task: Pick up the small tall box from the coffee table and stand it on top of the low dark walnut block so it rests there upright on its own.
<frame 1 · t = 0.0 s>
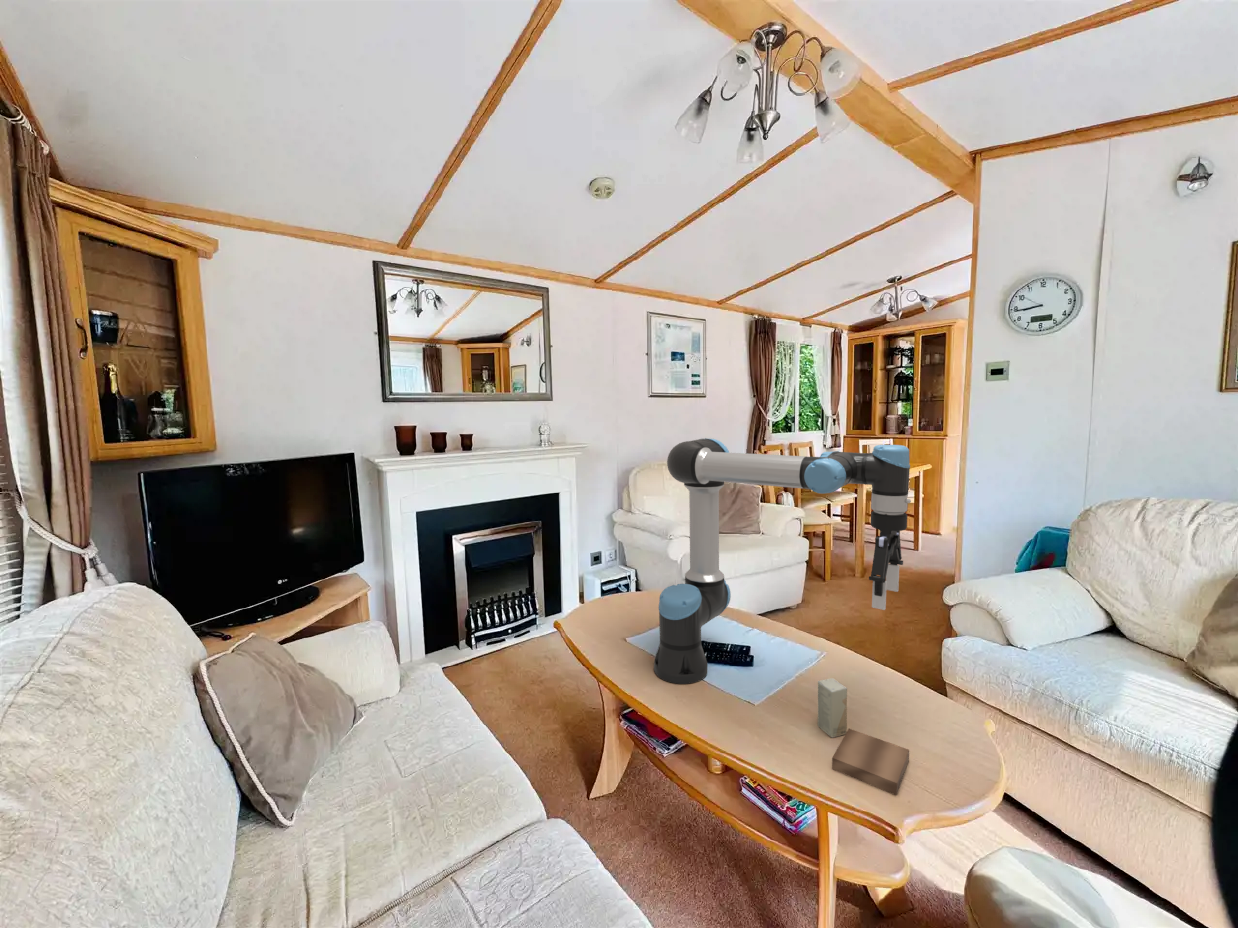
hand: (885, 599, 123), 28 cm above the table, fingers open, 13 cm apart
walnut block: (870, 766, 108), on the table
box: (831, 730, 119), on the table
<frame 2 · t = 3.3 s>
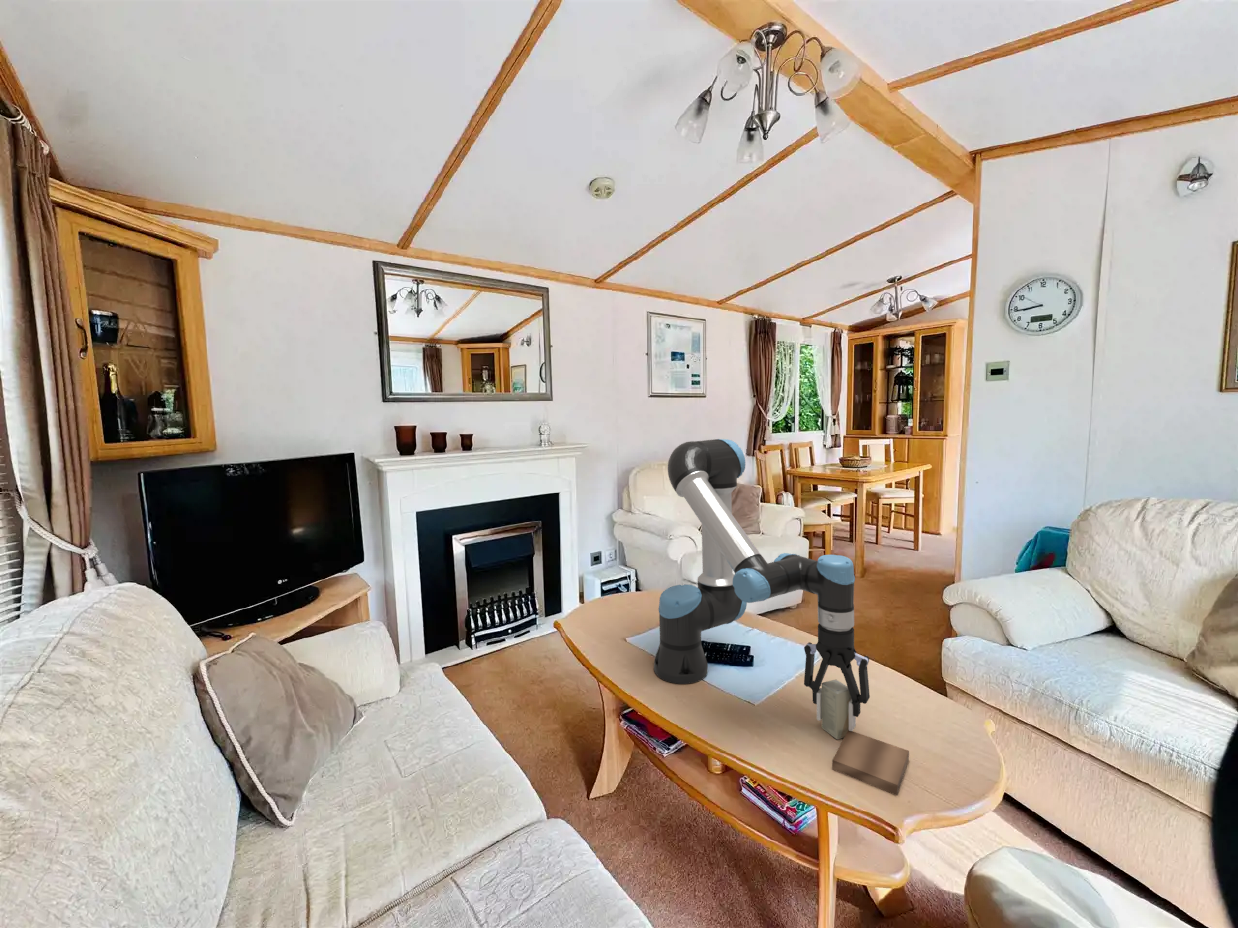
hand: (835, 722, 118), 2 cm above the table, fingers open, 6 cm apart
walnut block: (870, 768, 108), on the table, touching gripper
box: (835, 731, 119), on the table, touching gripper
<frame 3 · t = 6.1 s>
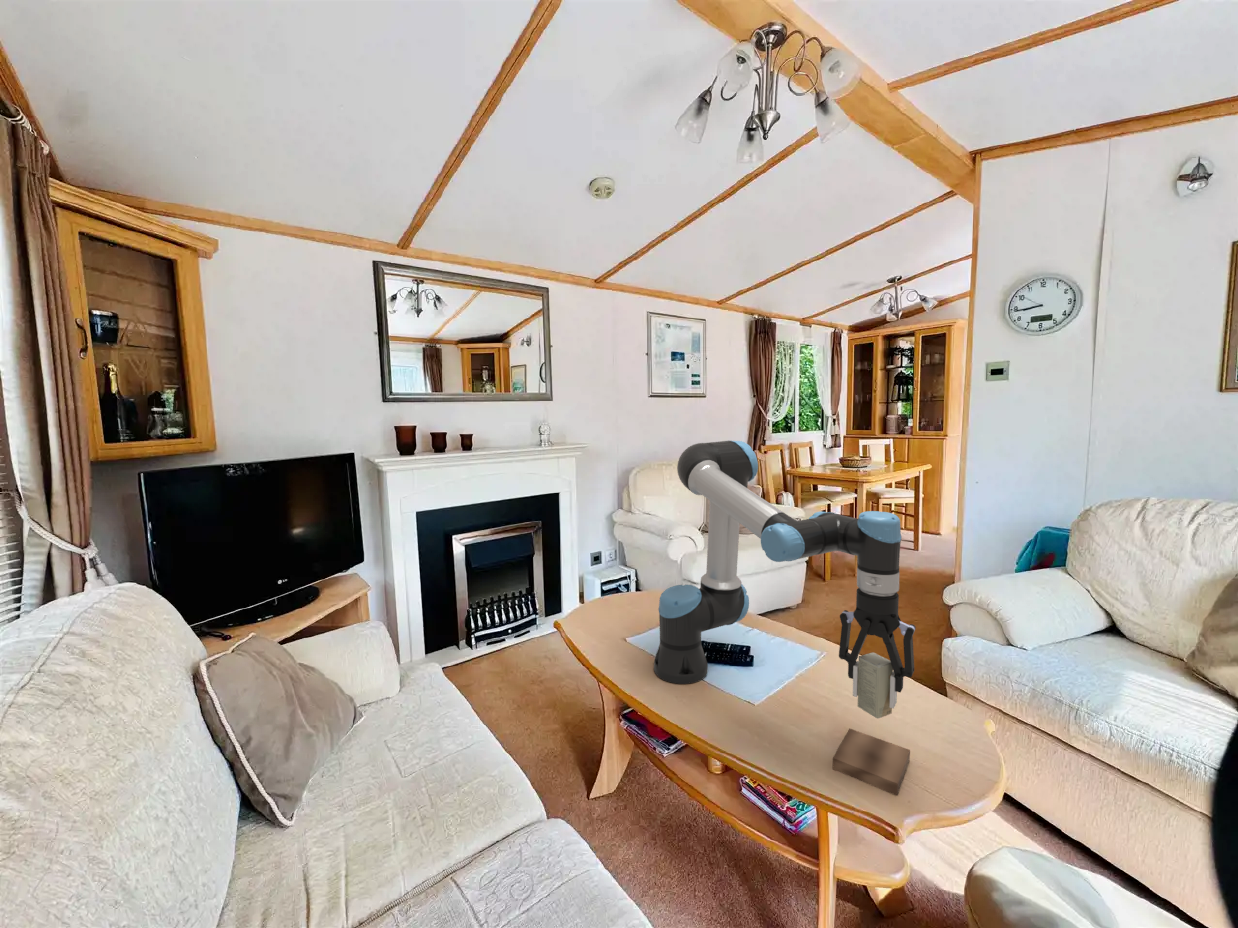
hand: (874, 698, 106), 15 cm above the table, fingers closed on box, 6 cm apart
walnut block: (871, 766, 108), on the table
box: (873, 710, 106), point 12 cm above the table, touching gripper
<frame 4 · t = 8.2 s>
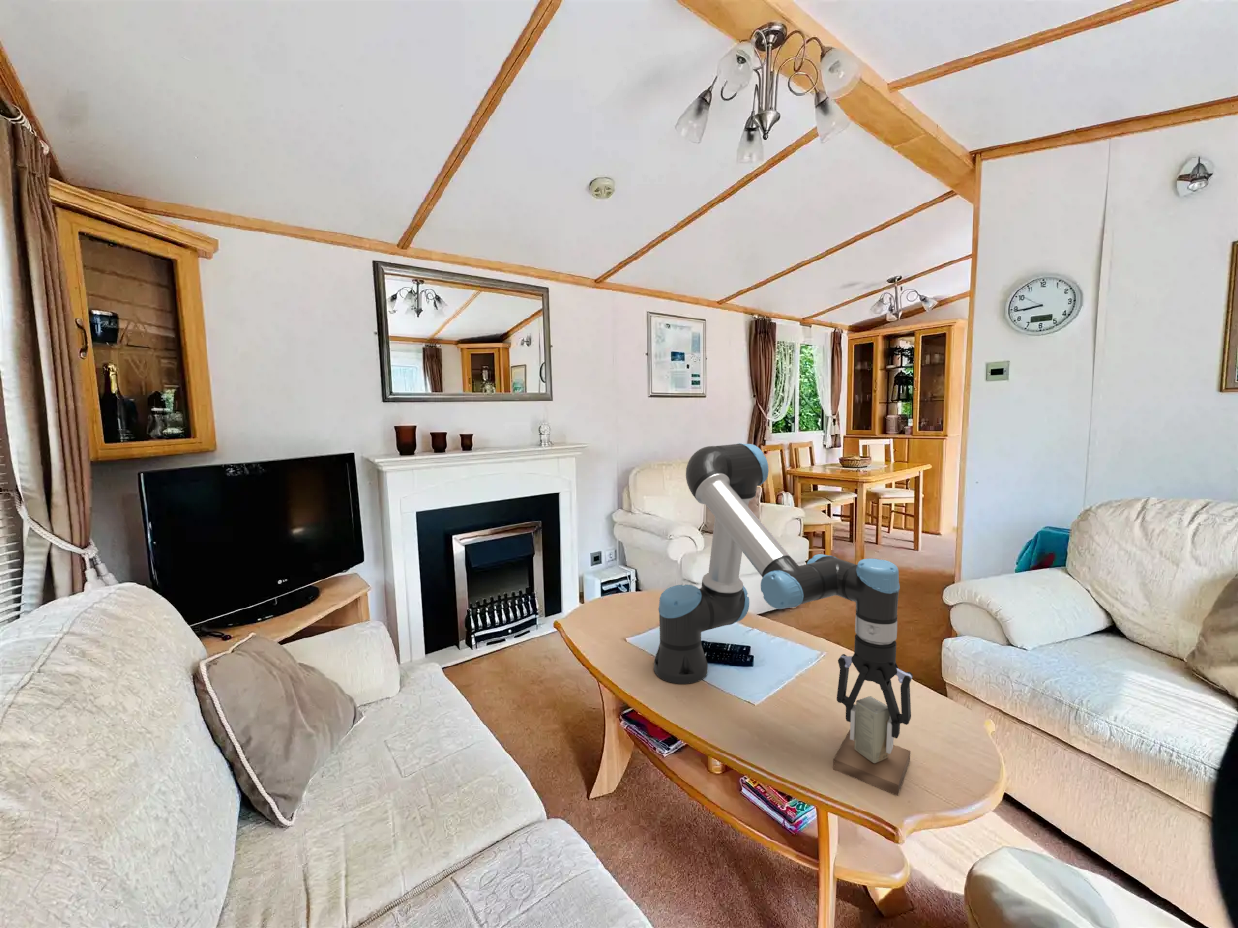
hand: (871, 742, 107), 5 cm above the table, fingers closed on box, 6 cm apart
box: (870, 753, 108), point 2 cm above the table, touching gripper
everything else where it was.
when the fingers open (5 cm above the table, at t = 8.2 s): box stays where it is, resting on walnut block.
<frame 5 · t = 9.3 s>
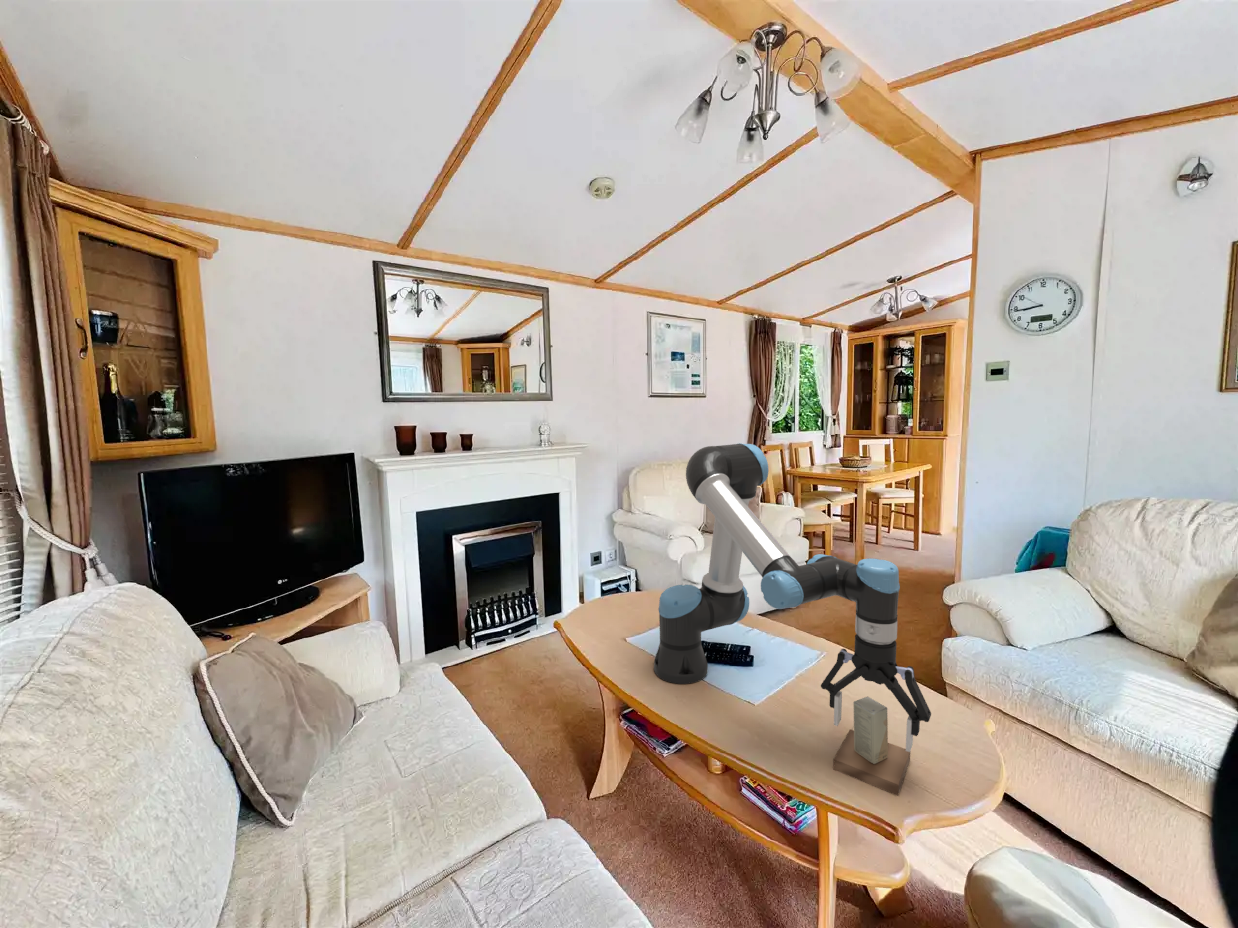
hand: (871, 734, 107), 7 cm above the table, fingers open, 13 cm apart
walnut block: (871, 767, 108), on the table, touching box
box: (870, 754, 108), point 2 cm above the table, touching walnut block
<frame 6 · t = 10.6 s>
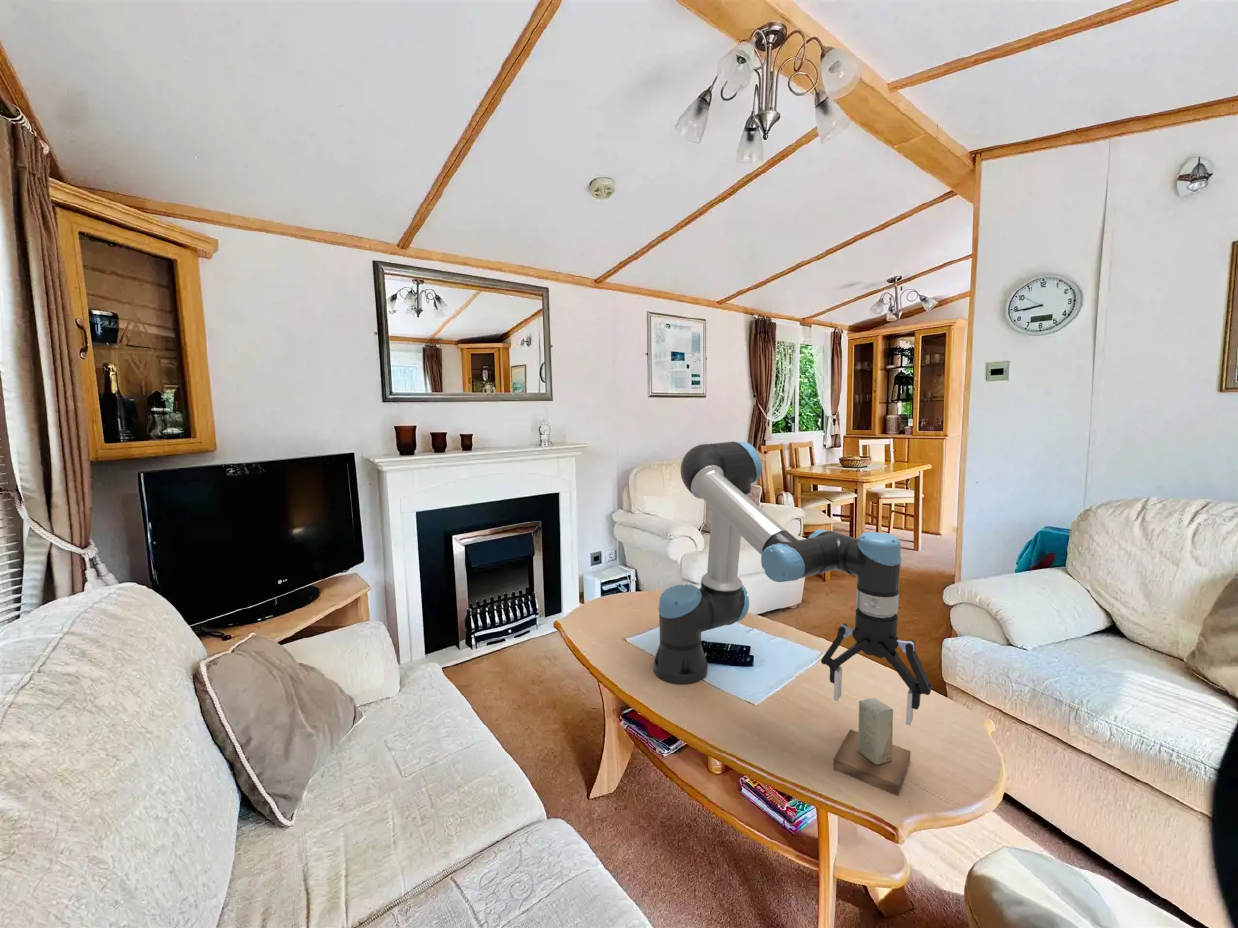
hand: (871, 709, 106), 12 cm above the table, fingers open, 13 cm apart
walnut block: (871, 768, 108), on the table
box: (874, 756, 107), point 2 cm above the table
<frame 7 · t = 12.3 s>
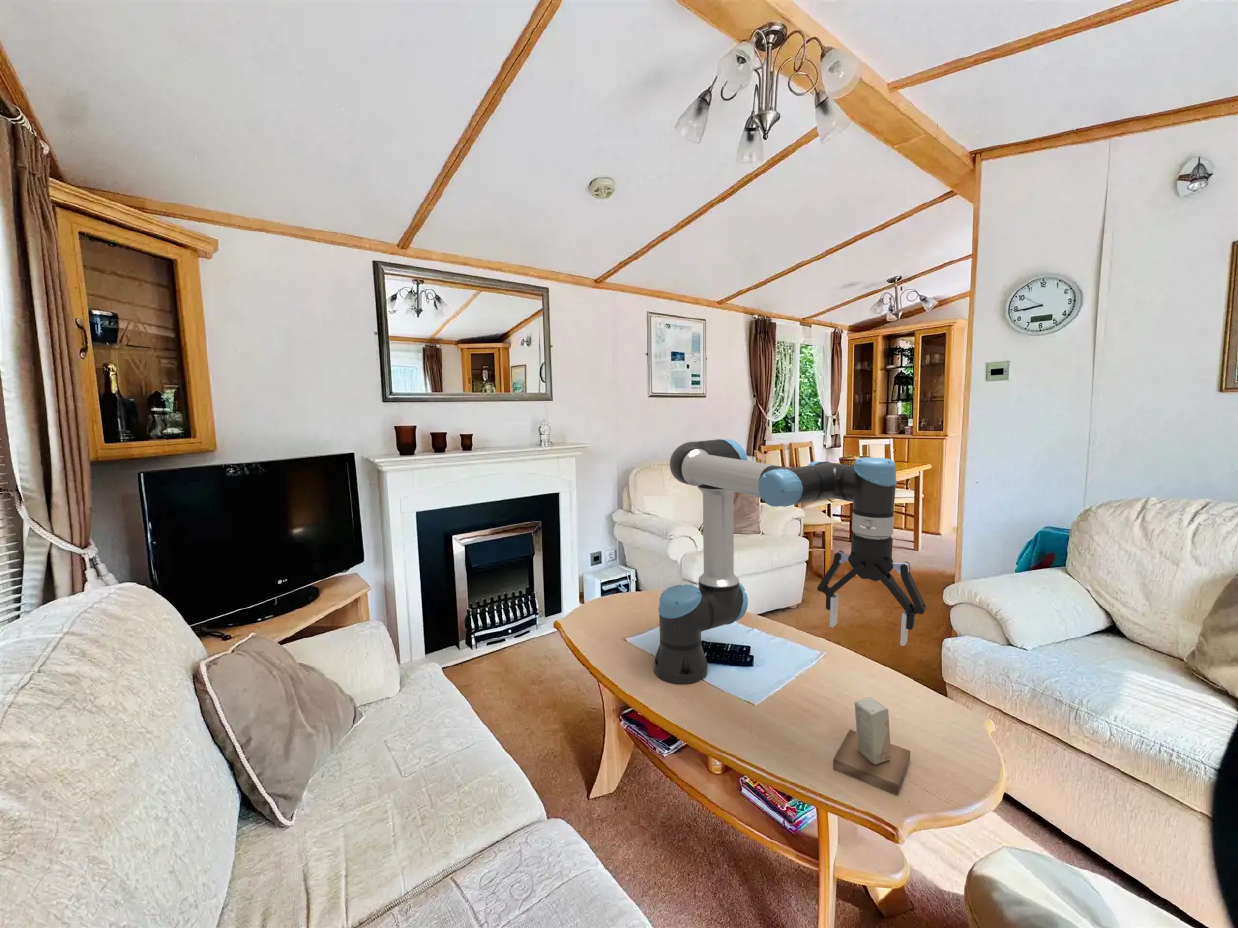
hand: (867, 633, 108), 27 cm above the table, fingers open, 13 cm apart
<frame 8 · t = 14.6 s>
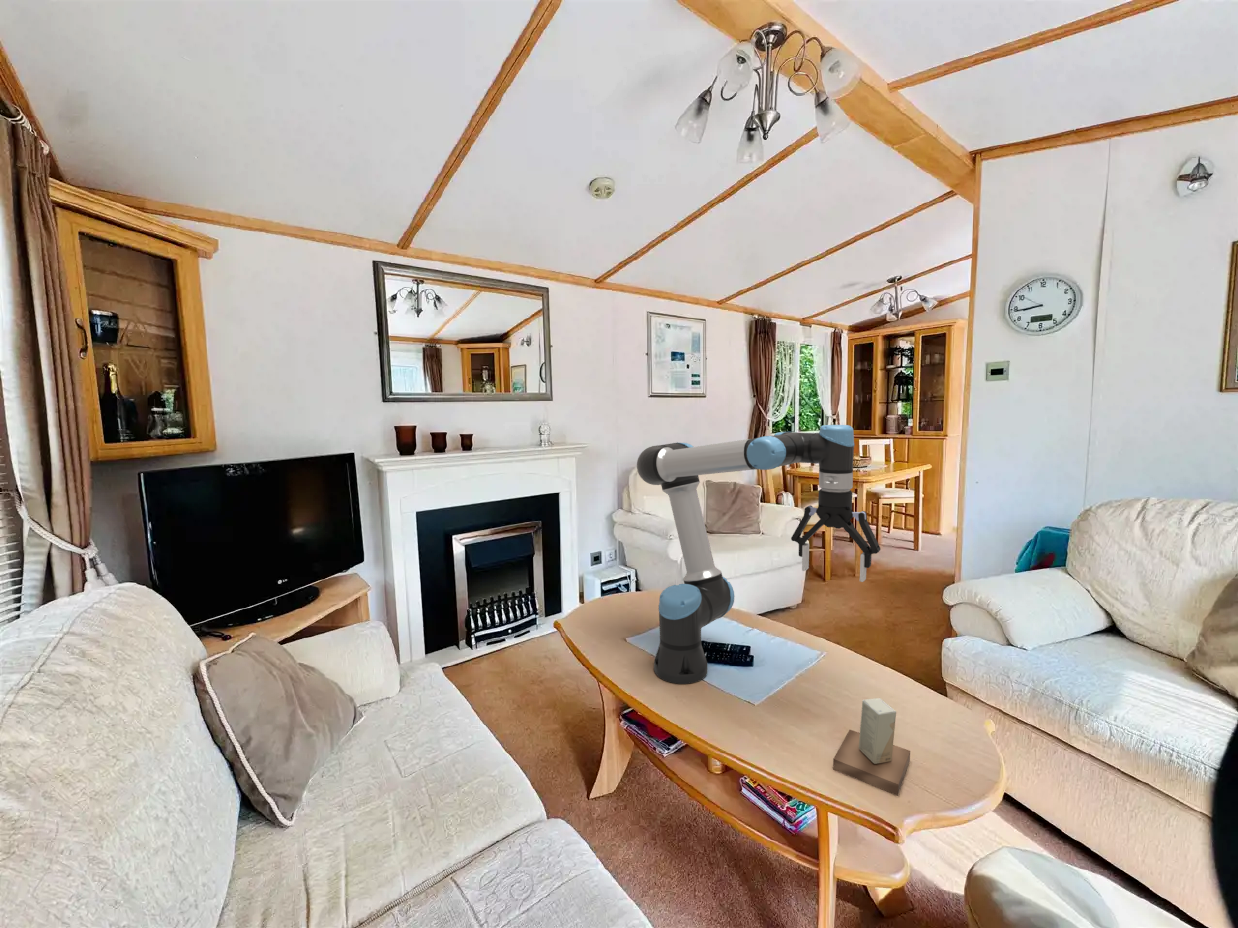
hand: (833, 574, 127), 33 cm above the table, fingers open, 13 cm apart
walnut block: (871, 767, 108), on the table, touching box
box: (874, 754, 107), point 2 cm above the table, touching walnut block
at the end: box inside the target area on the walnut block (0.3 cm from its centre), point 3.0 cm above the walnut block's base; box tilted 4°; the gripper is holding nothing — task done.
